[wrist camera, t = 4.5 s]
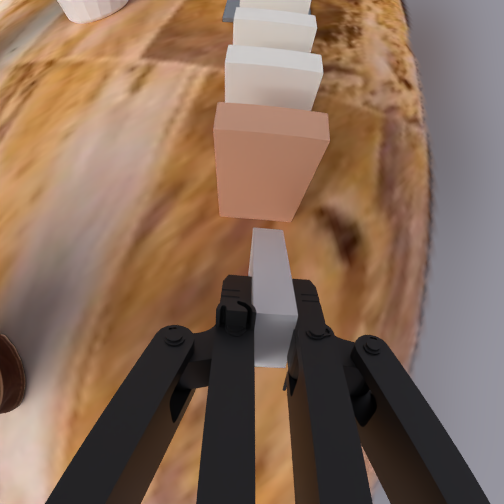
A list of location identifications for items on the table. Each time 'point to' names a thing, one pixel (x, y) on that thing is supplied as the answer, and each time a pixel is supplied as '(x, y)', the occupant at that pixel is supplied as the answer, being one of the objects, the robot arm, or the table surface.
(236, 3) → the slate coaster
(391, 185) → the table surface
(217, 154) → the domino
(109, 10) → the bottle
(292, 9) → the domino
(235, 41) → the domino
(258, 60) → the domino
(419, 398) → the robot arm
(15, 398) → the coffee cup
